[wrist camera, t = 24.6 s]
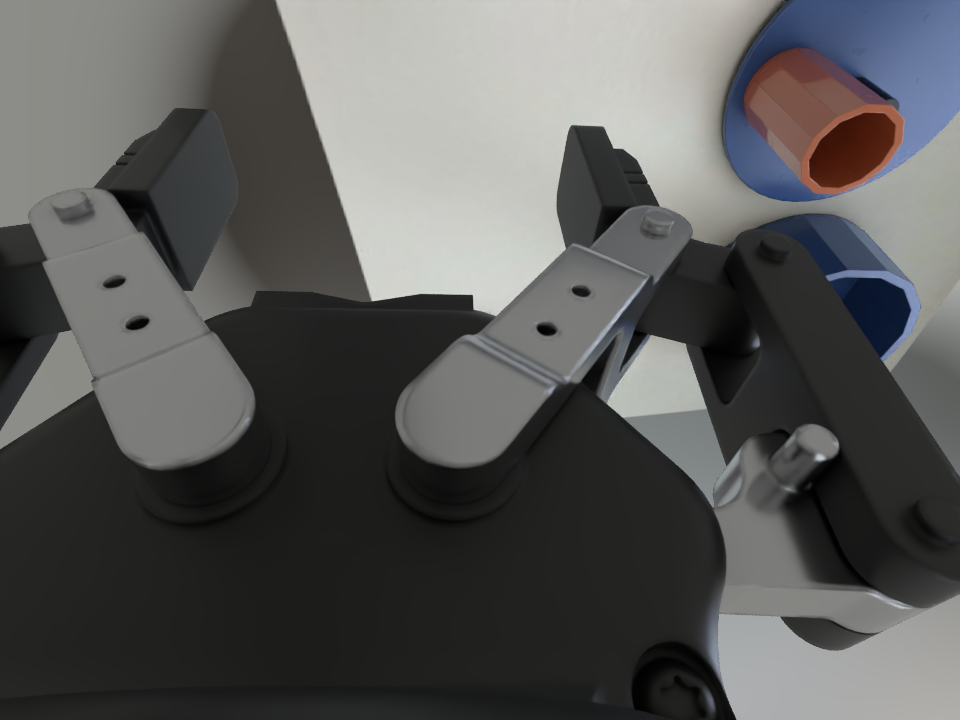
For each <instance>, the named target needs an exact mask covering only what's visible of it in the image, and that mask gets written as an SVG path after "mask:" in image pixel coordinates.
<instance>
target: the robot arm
mask: <svg viewBox="0 0 960 720" xmlns="http://www.w3.org/2000/svg"><path fill="white" fill-rule="evenodd" d="M124 154H125V155H122V156H121V157H120V158H119V159H118V160H117V162H116V165H113V166H112V167H111V168H110V169H109V171H108V172H107V173H106V174H105V175H104V176H103V177H102V179H101V180H100V181H99V182H98V183H97V184H96V185H95V187H94V188H79V189H72V190H67V191H63V192H59V193H56V194H53V195H51V196H49V197H46V198H44V199H43V200H41V201H39V202H38V203H37V204H35V205H34V206H33V207H32V208H31V210H30V212H29V214H28V218H29V221H30V223H29V224H23V225H16V226H8V227H2V228H0V430H1V428H2V427H3V425H4V424H5V422H6V420H7V419H8V417H9V415H10V414H11V412H12V411H13V409H14V407H15V406H16V404H17V402H18V401H19V399H20V398H21V396H22V394H23V393H24V391H25V389H26V388H27V386H28V385H29V383H30V381H31V380H32V378H33V376H34V375H35V373H36V372H37V370H38V368H39V367H40V365H41V363H42V362H43V360H44V358H45V357H46V355H47V353H48V352H49V350H50V349H51V347H52V345H53V344H54V342H55V340H56V339H57V336H58V333H59V332H64V331H69V330H72V331H73V334H74V336H75V338H76V340H77V343H78V345H79V347H80V349H81V351H82V354H83V356H84V358H85V361H86V363H87V365H88V367H89V369H90V372H91V374H92V377H93V380H92V381H91V382H92V386H93V389H94V390H93V391H91V392H90V393H88V394H87V395H85V396H84V397H82V398H80V399H79V400H77V401H76V402H74V403H72V404H71V405H69V406H68V407H67V408H65V409H63V410H62V411H60V412H58V413H57V414H55V415H54V416H52V417H51V418H49V419H47V420H46V421H44V422H43V423H41V424H39V425H38V426H36V427H35V428H33V429H32V430H30V431H28V432H27V433H25V434H24V435H22V436H20V437H19V438H17V439H16V440H14V441H13V442H11V443H9V444H8V445H6V446H5V447H3V448H2V449H0V720H736V718H735V715H734V713H733V711H732V708H731V706H730V704H729V701H728V698H727V696H726V693H725V690H724V686H723V682H722V678H721V672H720V665H719V654H718V618H719V614H736V615H759V616H760V615H761V616H780V617H781V619H782V620H783V621H784V623H785V624H786V625H787V626H788V627H789V628H790V629H791V630H792V631H793V632H794V633H795V634H796V635H798V636H799V637H800V638H802V639H803V640H805V641H806V642H808V643H810V644H812V645H814V646H816V647H819V648H822V649H827V650H843V649H846V648H849V647H851V646H853V645H855V644H857V643H859V642H861V641H864V640H866V639H868V638H870V637H872V636H874V635H876V634H878V633H880V632H882V631H884V630H886V629H888V628H891V627H893V626H894V625H897V624H899V623H901V622H903V621H905V620H907V619H909V618H911V617H913V616H915V615H917V614H920V613H922V612H924V611H926V610H928V609H930V608H932V607H934V606H936V605H938V604H940V603H942V602H945V601H947V600H949V599H951V598H953V597H955V596H957V595H959V594H960V477H959V475H958V474H957V472H956V471H955V469H954V468H953V466H952V465H951V463H950V462H949V460H948V459H947V457H946V456H945V454H944V453H943V451H942V450H941V448H940V447H939V445H938V444H937V442H936V441H935V439H934V438H933V436H932V435H931V433H930V432H929V430H928V429H927V427H926V426H925V424H924V423H923V421H922V420H921V418H920V417H919V415H918V414H917V412H916V411H915V409H914V408H913V406H912V405H911V403H910V402H909V400H908V399H907V397H906V396H905V394H904V393H903V391H902V390H901V388H900V387H899V385H898V384H897V382H896V381H895V379H894V378H893V376H892V375H891V373H890V372H889V370H888V369H887V367H886V366H885V364H884V363H883V361H882V360H881V358H880V357H879V355H878V354H877V352H876V351H875V349H874V348H873V346H872V345H871V343H870V342H869V341H868V339H867V338H866V336H865V335H864V333H863V332H862V330H861V329H860V327H859V326H858V324H857V323H856V321H855V320H854V318H853V317H852V315H851V314H850V312H849V311H848V309H847V308H846V306H845V305H844V303H843V302H842V300H841V299H840V297H839V296H838V294H837V293H836V291H835V290H834V288H833V287H832V285H831V284H830V282H829V281H828V279H827V278H826V276H825V275H824V273H823V272H822V270H821V269H820V267H819V266H818V264H817V263H816V261H815V260H814V258H813V257H812V255H811V254H810V252H809V251H808V250H807V249H806V248H805V247H804V246H803V245H802V244H801V243H799V242H798V241H796V240H795V239H793V238H791V237H789V236H787V235H784V234H782V233H779V232H775V231H771V230H764V229H752V230H747V231H744V232H742V233H740V234H739V235H738V236H737V238H736V240H735V242H734V244H733V246H732V248H727V247H722V246H718V245H713V244H708V243H704V242H700V241H697V240H694V239H692V238H691V237H692V233H693V230H692V227H691V224H690V223H689V222H688V221H687V220H686V219H685V218H684V217H682V216H681V215H680V214H678V213H676V212H674V211H671V210H669V209H666V208H662V207H660V206H659V204H658V202H657V200H656V198H655V196H654V194H653V192H652V190H651V188H650V186H649V184H647V183H648V182H647V180H646V177H645V175H644V174H643V171H642V169H641V167H640V165H639V163H638V161H637V160H636V159H635V158H634V157H632V156H631V155H630V154H629V153H627V152H626V151H625V150H623V149H613V147H612V144H611V142H610V140H609V138H608V135H607V133H606V131H605V129H604V127H601V126H577V125H572V126H571V127H570V129H569V132H568V136H567V141H566V146H565V152H564V157H563V163H562V168H561V174H560V179H559V185H558V191H557V214H558V218H559V222H560V226H561V230H562V234H563V238H564V242H565V247H566V250H565V251H564V252H563V253H562V254H561V255H560V256H559V257H558V258H557V259H555V260H554V261H553V262H552V263H551V264H550V265H549V266H548V267H547V268H546V269H545V270H544V271H543V272H542V273H541V274H540V275H539V276H538V277H537V278H536V279H535V280H534V281H533V282H532V283H531V284H529V285H528V286H527V287H526V288H525V289H524V290H523V291H522V292H521V293H520V294H519V295H518V296H517V297H516V298H515V299H514V300H513V301H512V302H511V303H510V304H509V305H508V306H507V307H506V308H505V309H503V310H502V311H501V312H500V313H499V314H498V315H497V316H494V315H491V314H488V313H485V312H481V311H477V310H473V295H442V294H418V295H412V296H405V297H399V298H392V299H386V300H379V301H373V302H358V301H353V300H348V299H343V298H338V297H333V296H328V295H323V294H318V293H313V292H282V291H277V292H276V291H256V294H255V297H254V299H253V302H252V305H251V306H250V307H245V308H240V309H236V310H232V311H229V312H226V313H223V314H220V315H217V316H215V317H212V318H210V319H208V320H205V321H203V319H202V318H201V316H200V315H199V313H198V312H197V310H196V309H195V307H194V306H193V305H192V303H191V302H190V300H189V299H188V297H187V296H186V294H185V293H184V291H192V290H193V289H194V287H195V285H196V283H197V280H198V279H199V277H200V275H201V273H202V271H203V269H204V267H205V265H206V263H207V261H208V259H209V257H210V255H211V253H212V251H213V249H214V247H215V245H216V243H217V241H218V239H219V237H220V235H221V233H222V231H223V229H224V227H225V225H226V223H227V221H228V219H229V217H230V215H231V213H232V211H233V209H234V207H235V205H236V203H237V199H238V184H237V178H236V174H235V171H234V168H233V164H232V161H231V158H230V154H229V151H228V148H227V145H226V141H225V138H224V135H223V131H222V128H221V124H220V122H219V119H218V117H217V115H216V114H215V112H214V111H212V110H209V109H185V108H176V109H174V110H173V111H172V112H171V113H170V114H169V115H168V117H167V118H166V119H165V120H164V121H163V123H162V124H161V125H160V126H159V128H157V130H154V131H152V132H150V133H148V134H146V135H144V136H142V137H140V138H139V139H137V140H135V141H134V142H133V143H132V144H131V145H130V147H129V148H128V149H127V150H126V151H125V152H124ZM650 335H654V336H658V337H662V338H666V339H670V340H674V341H678V342H682V343H686V347H687V350H688V353H689V356H690V359H691V362H692V365H693V368H694V371H695V374H696V377H697V380H698V383H699V386H700V389H701V392H702V395H703V398H704V401H705V404H706V407H707V410H708V412H709V416H710V419H711V422H712V424H713V427H714V430H715V433H716V436H717V439H718V442H719V445H720V448H721V451H722V454H723V457H724V460H725V463H726V466H727V467H726V468H725V469H724V470H723V472H722V473H721V474H720V476H719V477H718V478H717V480H716V482H715V484H714V488H713V499H714V506H715V507H713V508H712V506H711V505H710V503H709V501H708V500H707V498H706V497H705V495H704V494H703V492H702V491H701V490H700V488H699V487H698V486H697V485H696V484H695V482H694V481H693V480H692V479H691V478H690V477H689V476H688V475H687V474H686V473H685V472H684V471H683V470H682V469H680V468H679V467H678V466H677V465H676V464H675V463H674V462H673V461H671V460H670V459H669V458H668V457H667V456H666V455H665V454H663V453H662V452H661V451H660V450H659V449H658V448H657V447H655V446H654V445H653V444H652V443H651V442H650V441H649V440H647V439H646V438H645V437H644V436H642V434H640V433H639V432H638V431H637V430H636V429H635V428H634V427H632V426H631V425H630V424H629V423H628V422H627V421H625V420H624V419H623V418H622V417H621V416H620V415H619V414H618V413H616V412H615V411H614V410H613V409H612V408H611V407H610V406H608V405H607V404H606V403H607V401H608V399H609V397H610V395H611V394H612V392H613V390H614V388H615V387H616V385H617V384H618V382H619V381H620V379H621V378H622V377H623V375H624V374H625V372H626V371H627V369H628V368H629V367H630V365H631V364H632V362H633V361H634V359H635V358H636V357H637V355H638V354H639V352H640V351H641V349H642V348H643V346H644V345H645V344H646V342H647V341H648V339H649V337H650Z"/></svg>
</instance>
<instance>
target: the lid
mask: <svg viewBox="0 0 960 720" xmlns="http://www.w3.org/2000/svg"><path fill="white" fill-rule="evenodd" d="M796 47H807V48H811V49H813V50H817V51H819V52H820V53H822V54H823V55H824V56H826V57H827V58H828V59H830V60H831V61H832V62H834V63H835V64H837V65H838V66H839V67H841V68H842V69H843V70H845V71H846V72H847V73H849V74H850V75H852V76H853V77H854V78H856V79H857V80H858V81H860V82H861V83H863V84H864V85H865V86H867V87H868V88H869V89H871V90H872V91H873V92H875V93H876V94H878V95H879V96H880V97H882V98H883V99H884V100H886V101H887V102H888V103H890V104H891V105H892V106H893V107H894V108H895V109H896V110H897V111H898V112H899V113H900V114H901V116H902V117H903V118H904V120H905V122H904V132H903V141H902V143H901V145H900V147H899V148H898V150H897V151H896V153H895V154H894V156H893V157H892V159H891V160H890V162H889V163H888V165H886V167H884V168H883V169H882V170H881V171H879V172H878V173H877V174H876V175H874V176H873V177H872V178H871V179H869V180H868V181H867V182H865V183H864V184H862V185H860V186H858V187H855V188H852V189H850V190H847V191H845V192H842V193H839V194H816V193H813V192H812V191H811V190H810V189H809V188H808V187H806V186H805V185H804V184H803V183H802V182H801V181H800V180H799V179H798V178H797V176H796V175H795V174H794V173H793V172H792V171H791V170H790V168H789V167H788V166H787V165H786V164H785V163H784V162H783V160H782V159H781V158H780V157H779V156H778V155H777V154H776V152H775V151H774V150H773V149H772V148H771V147H770V146H769V145H768V143H767V142H766V141H765V140H764V139H763V138H762V137H761V135H760V134H759V133H758V132H757V131H756V130H755V129H754V127H753V126H752V125H751V124H750V123H749V122H748V120H747V117H746V116H745V113H744V109H743V100H744V94H745V91H746V88H747V86H748V84H749V82H750V80H751V78H752V77H753V75H754V74H755V73H756V71H757V70H758V69H759V68H760V67H761V66H762V65H763V64H764V63H765V62H766V61H768V60H769V59H770V58H772V57H773V56H775V55H776V54H778V53H780V52H782V51H785V50H787V49H791V48H796ZM959 110H960V0H788V1H787V2H786V3H785V4H784V5H783V6H782V7H781V8H780V9H779V10H778V11H777V13H776V14H775V15H774V16H773V17H772V19H771V20H770V21H769V22H768V23H767V25H766V26H765V27H764V28H763V30H762V31H761V32H760V34H759V35H758V37H757V38H756V40H755V41H754V43H753V44H752V45H751V47H750V49H749V50H748V52H747V54H746V56H745V57H744V59H743V61H742V63H741V64H740V67H739V69H738V71H737V73H736V76H735V78H734V80H733V82H732V85H731V89H730V92H729V95H728V98H727V102H726V107H725V112H724V120H723V140H724V147H725V151H726V155H727V158H728V160H729V162H730V164H731V167H732V168H733V170H734V171H735V172H736V174H737V175H738V177H739V178H740V179H741V180H742V181H743V182H744V183H745V184H746V185H747V186H748V187H749V188H751V189H752V190H754V191H756V192H757V193H759V194H761V195H764V196H766V197H769V198H773V199H777V200H782V201H792V202H798V201H812V200H820V199H825V198H829V197H833V196H837V195H840V194H843V193H846V192H849V191H852V190H854V189H856V188H859V187H861V186H863V185H866V184H868V183H870V182H872V181H873V180H875V179H877V178H879V177H881V176H883V175H885V174H886V173H888V172H889V171H891V170H893V169H894V168H896V167H897V166H899V165H900V164H902V163H903V162H905V161H906V160H907V159H909V158H910V157H911V156H913V155H914V154H915V153H917V152H918V151H919V150H920V149H921V148H923V147H924V146H925V145H926V144H927V143H929V142H930V141H931V140H932V139H933V138H934V137H935V136H936V135H937V134H938V133H939V132H940V131H941V130H942V129H943V128H944V127H945V126H946V125H947V124H948V123H949V122H950V120H951V119H952V118H953V117H954V116H955V115H956V114H957V113H958V111H959Z"/></svg>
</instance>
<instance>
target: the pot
mask: <svg viewBox="0 0 960 720" xmlns="http://www.w3.org/2000/svg"><path fill="white" fill-rule="evenodd" d="M757 229H764V230H771V231H775V232H779V233H782V234H784V235H787V236H789V237H791V238H793V239H795V240H796V241H798V242H799V243H801V244H802V245H803V246H804V247H805V248H806V249H807V250H808V251H809V252H810V254H811V255H812V257H813V258H814V260H815V261H816V263H817V264H818V266H819V267H820V269H821V270H822V272H823V273H824V275H825V276H826V278H827V279H828V281H829V282H830V284H831V285H832V287H833V288H834V290H835V291H836V293H837V294H838V296H839V297H840V299H841V300H842V302H843V303H844V305H845V306H846V308H847V309H848V311H849V312H850V314H851V315H852V317H853V318H854V320H855V321H856V323H857V324H858V326H859V327H860V329H861V330H862V332H863V333H864V335H865V336H866V338H867V339H868V341H869V342H870V343H871V345H872V346H873V348H874V349H875V351H876V352H877V354H878V355H879V357H880V358H881V360H882V361H884V360H886V359H887V358H888V357H889V356H890V355H891V354H892V353H893V352H894V351H895V350H896V349H897V348H898V346H899V345H900V344H901V343H902V342H903V341H904V340H905V339H906V338H907V337H908V336H909V335H910V333H911V332H912V330H913V327H914V325H915V322H916V319H917V317H918V314H919V311H920V308H921V304H920V301H919V299H918V296H917V293H916V290H915V287H914V284H913V283H912V282H911V281H910V280H909V279H908V278H907V277H906V276H905V274H904V273H903V272H902V271H901V270H900V269H899V268H898V267H897V266H896V265H895V264H894V263H893V261H892V260H891V259H890V258H889V257H888V256H887V255H886V254H885V253H884V252H883V251H882V250H881V248H880V247H879V246H878V245H877V244H876V243H875V242H874V241H873V240H872V239H871V238H870V237H869V235H868V234H867V233H866V232H865V231H864V230H862V229H860V228H858V227H857V226H856V225H854V224H853V223H851V222H850V221H848V220H846V219H843V218H841V217H837V216H833V215H825V214H805V215H798V216H792V217H788V218H784V219H780V220H777V221H774V222H771V223H768V224H766V225H764V226H761V227H759V228H757ZM734 242H735V241H734ZM734 242H733V243H731V244H730V245H729V246H728V247H727V248H732V246H733V244H734Z"/></svg>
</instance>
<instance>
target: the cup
mask: <svg viewBox="0 0 960 720" xmlns="http://www.w3.org/2000/svg"><path fill="white" fill-rule="evenodd" d="M743 109H744V113H745V116H746V117H747V120H748V122H749V123H750V124H751V125H752V126H753V127H754V129H755V130H756V131H757V132H758V133H759V134H760V135H761V137H762V138H763V139H764V140H765V141H766V142H767V143H768V145H769V146H770V147H771V148H772V149H773V150H774V151H775V152H776V154H777V155H778V156H779V157H780V158H781V159H782V160H783V162H784V163H785V164H786V165H787V166H788V167H789V168H790V170H791V171H792V172H793V173H794V174H795V175H796V176H797V178H798V179H799V180H800V181H801V182H802V183H803V184H804V185H805V186H806V187H808V188H809V189H810V190H811V191H812V192H813V193H816V194H839V193H842V192H845V191H847V190H850V189H852V188H855V187H858V186H860V185H862V184H864V183H865V182H867V181H868V180H869V179H871V178H872V177H873V176H874V175H876V174H877V173H878V172H879V171H881V170H882V169H883V168H884V167H886V165H888V163H889V162H890V160H891V159H892V157H893V156H894V154H895V153H896V151H897V150H898V148H899V147H900V145H901V143H902V141H903V132H904V122H905V120H904V118H903V117H902V116H901V114H900V113H899V112H898V111H897V110H896V109H895V108H894V107H893V106H892V105H891V104H890V103H888V102H887V101H886V100H884V99H883V98H882V97H880V96H879V95H878V94H876V93H875V92H873V91H872V90H871V89H869V88H868V87H867V86H865V85H864V84H863V83H861V82H860V81H858V80H857V79H856V78H854V77H853V76H852V75H850V74H849V73H847V72H846V71H845V70H843V69H842V68H841V67H839V66H838V65H837V64H835V63H834V62H832V61H831V60H830V59H828V58H827V57H826V56H824V55H823V54H822V53H820V52H819V51H817V50H813V49H811V48H807V47H796V48H791V49H787V50H785V51H782V52H780V53H778V54H776V55H775V56H773V57H772V58H770V59H769V60H768V61H766V62H765V63H764V64H763V65H762V66H761V67H760V68H759V69H758V70H757V71H756V73H755V74H754V75H753V77H752V78H751V80H750V82H749V84H748V86H747V88H746V91H745V94H744V100H743Z"/></svg>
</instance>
